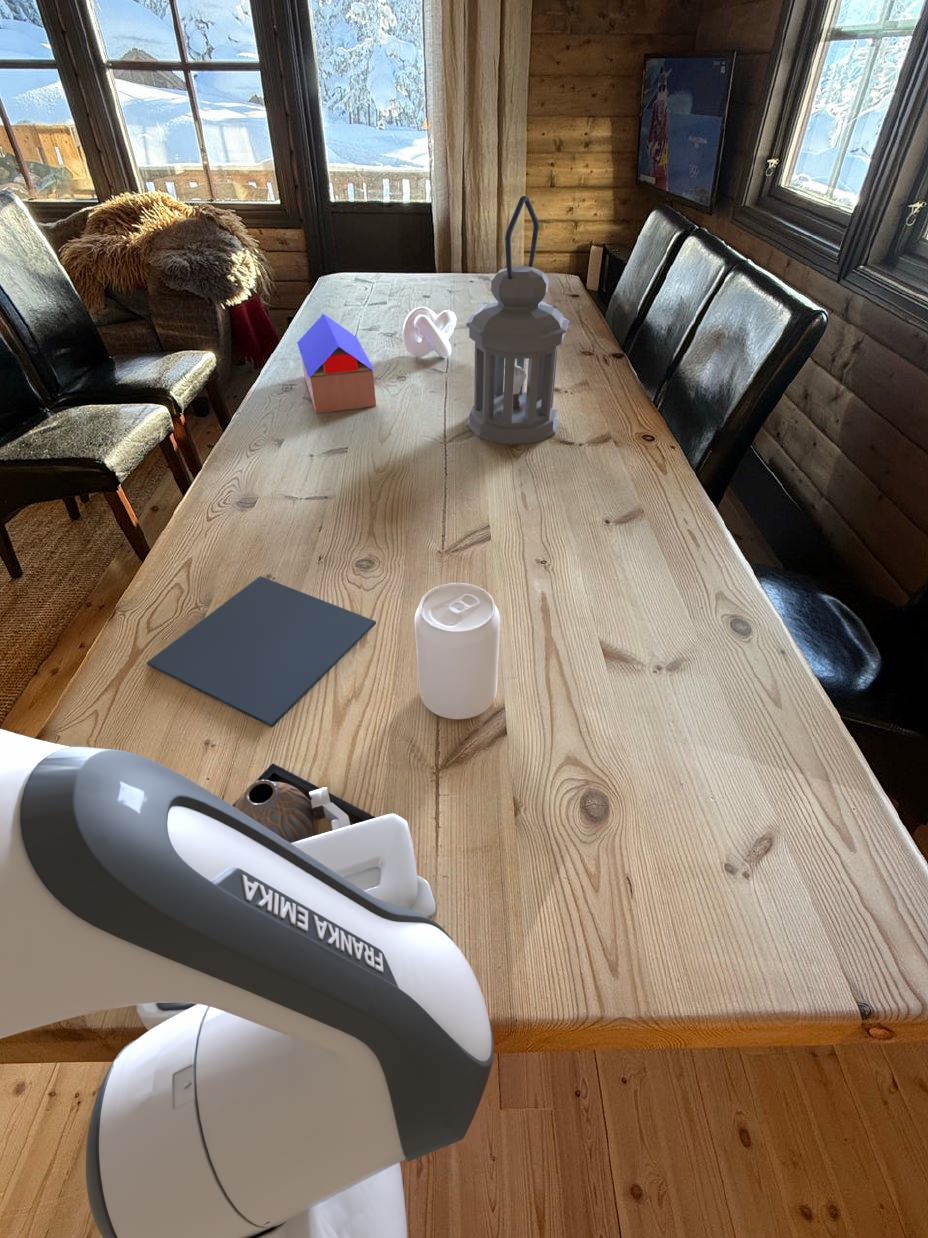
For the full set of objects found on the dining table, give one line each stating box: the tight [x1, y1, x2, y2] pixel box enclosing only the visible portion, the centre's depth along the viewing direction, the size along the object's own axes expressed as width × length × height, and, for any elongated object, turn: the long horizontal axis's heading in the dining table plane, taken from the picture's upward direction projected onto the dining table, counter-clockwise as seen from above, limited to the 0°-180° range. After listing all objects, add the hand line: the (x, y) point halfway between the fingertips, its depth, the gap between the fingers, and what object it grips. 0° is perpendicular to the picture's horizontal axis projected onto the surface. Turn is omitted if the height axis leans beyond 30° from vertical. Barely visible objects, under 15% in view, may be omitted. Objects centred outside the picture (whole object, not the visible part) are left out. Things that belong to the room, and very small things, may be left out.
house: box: [296, 313, 377, 414], centre depth 127 cm, size 12×20×12 cm, turn 17°
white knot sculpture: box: [402, 306, 457, 359], centre depth 142 cm, size 11×12×9 cm
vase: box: [234, 780, 319, 843], centre depth 53 cm, size 7×7×9 cm
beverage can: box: [414, 582, 501, 720], centre depth 65 cm, size 8×8×12 cm
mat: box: [146, 575, 377, 728], centre depth 75 cm, size 18×18×1 cm
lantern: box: [465, 195, 570, 446], centre depth 107 cm, size 17×17×35 cm
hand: (267, 807), depth 52 cm, fingers closed on vase, 7 cm apart
